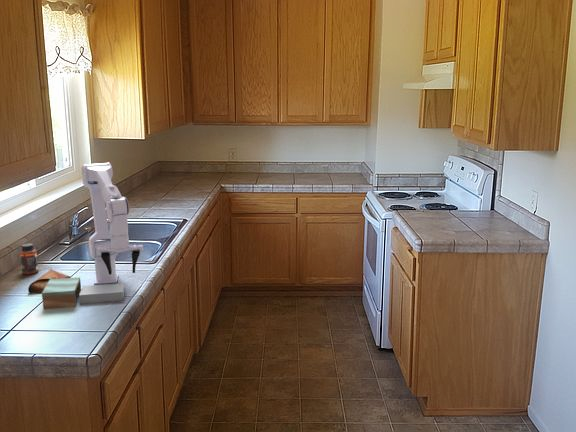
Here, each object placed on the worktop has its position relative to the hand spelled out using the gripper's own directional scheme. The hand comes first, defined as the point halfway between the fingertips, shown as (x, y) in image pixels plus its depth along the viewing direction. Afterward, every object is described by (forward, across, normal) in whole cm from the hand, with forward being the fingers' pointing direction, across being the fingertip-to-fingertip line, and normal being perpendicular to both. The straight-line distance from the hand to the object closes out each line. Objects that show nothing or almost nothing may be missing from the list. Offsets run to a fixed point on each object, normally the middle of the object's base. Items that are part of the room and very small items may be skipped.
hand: (122, 272), depth 187 cm
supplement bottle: (+10, -38, +37) cm, 54 cm away
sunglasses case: (+10, -28, +21) cm, 36 cm away
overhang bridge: (+10, -20, +4) cm, 23 cm away
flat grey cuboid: (+10, -7, +4) cm, 13 cm away
